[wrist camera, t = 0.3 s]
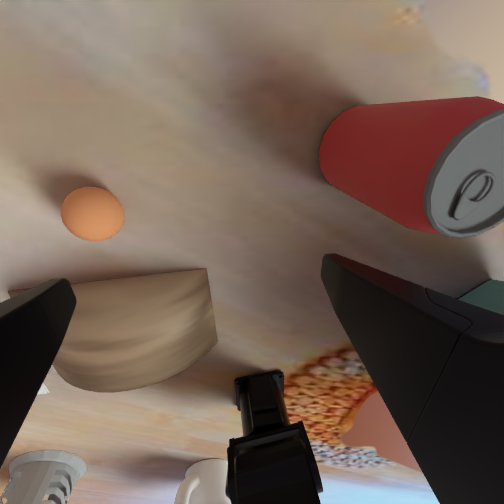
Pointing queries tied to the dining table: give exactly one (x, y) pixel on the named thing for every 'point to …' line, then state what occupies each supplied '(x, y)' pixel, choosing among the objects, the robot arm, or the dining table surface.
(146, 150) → the dining table surface
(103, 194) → the ball
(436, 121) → the beer can
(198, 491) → the mug
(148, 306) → the hump
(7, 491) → the french press
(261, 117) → the dining table surface
